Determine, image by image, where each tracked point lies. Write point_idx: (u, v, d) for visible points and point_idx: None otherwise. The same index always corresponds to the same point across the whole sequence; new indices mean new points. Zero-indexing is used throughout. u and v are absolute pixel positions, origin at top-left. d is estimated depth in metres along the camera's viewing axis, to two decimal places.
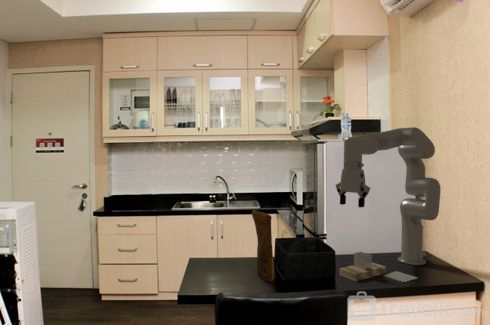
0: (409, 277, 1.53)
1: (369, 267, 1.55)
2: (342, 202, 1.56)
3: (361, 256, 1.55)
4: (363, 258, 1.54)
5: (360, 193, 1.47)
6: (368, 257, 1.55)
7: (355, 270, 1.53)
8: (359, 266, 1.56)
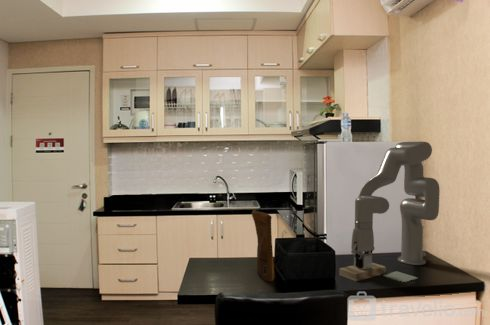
0: (409, 277, 1.53)
1: (369, 267, 1.55)
2: None
3: None
4: (363, 258, 1.54)
5: (370, 253, 1.58)
6: (368, 257, 1.55)
7: (355, 270, 1.53)
8: None
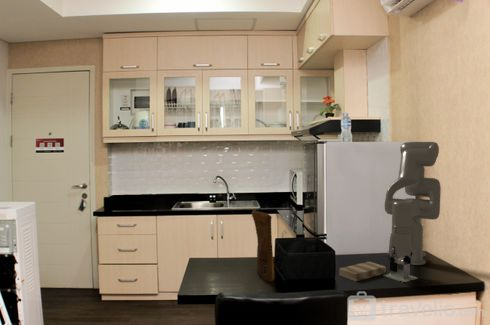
0: None
1: (407, 276, 1.52)
2: None
3: (399, 265, 1.52)
4: (401, 267, 1.51)
5: (410, 255, 1.56)
6: (406, 266, 1.51)
7: (355, 270, 1.53)
8: (397, 275, 1.53)
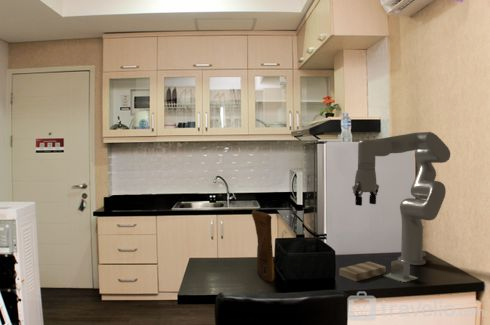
0: None
1: (407, 276, 1.52)
2: None
3: (399, 265, 1.52)
4: (401, 267, 1.51)
5: (375, 191, 1.64)
6: (406, 266, 1.51)
7: (355, 270, 1.53)
8: (397, 275, 1.53)
